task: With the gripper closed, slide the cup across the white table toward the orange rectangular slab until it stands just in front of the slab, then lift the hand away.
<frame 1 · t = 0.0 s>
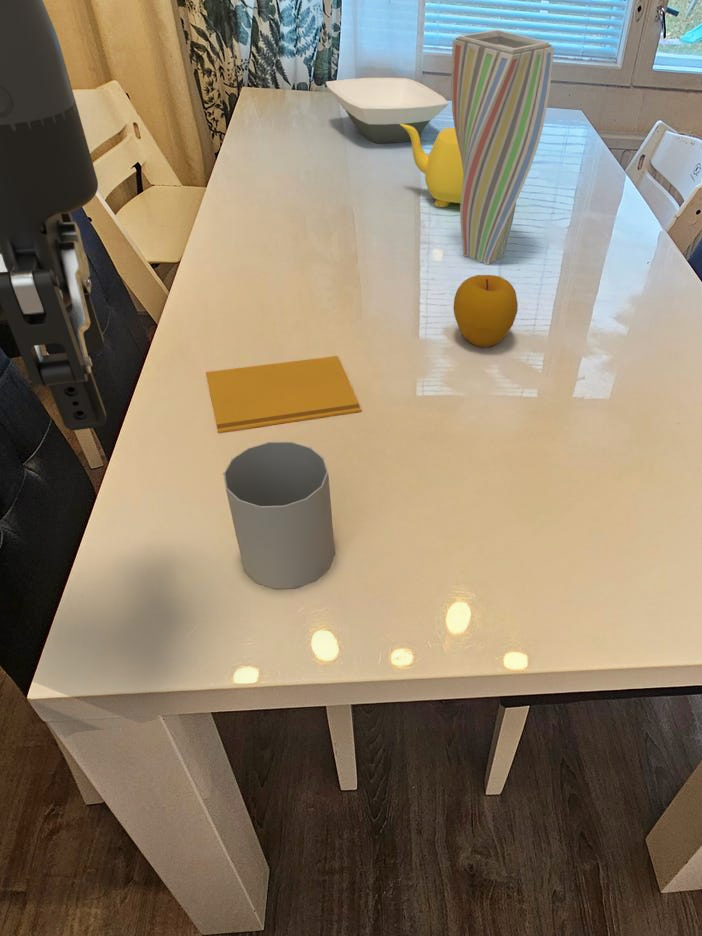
hand: (87, 385, 44), 22 cm above the table, tool pointing down, fingers open, 8 cm apart
cup: (288, 555, 65), on the table
bowl: (386, 135, 156), on the table
teapot: (452, 200, 132), on the table
apple: (482, 341, 96), on the table
vase: (484, 256, 116), on the table
orange rectangular slab: (282, 392, 83), on the table
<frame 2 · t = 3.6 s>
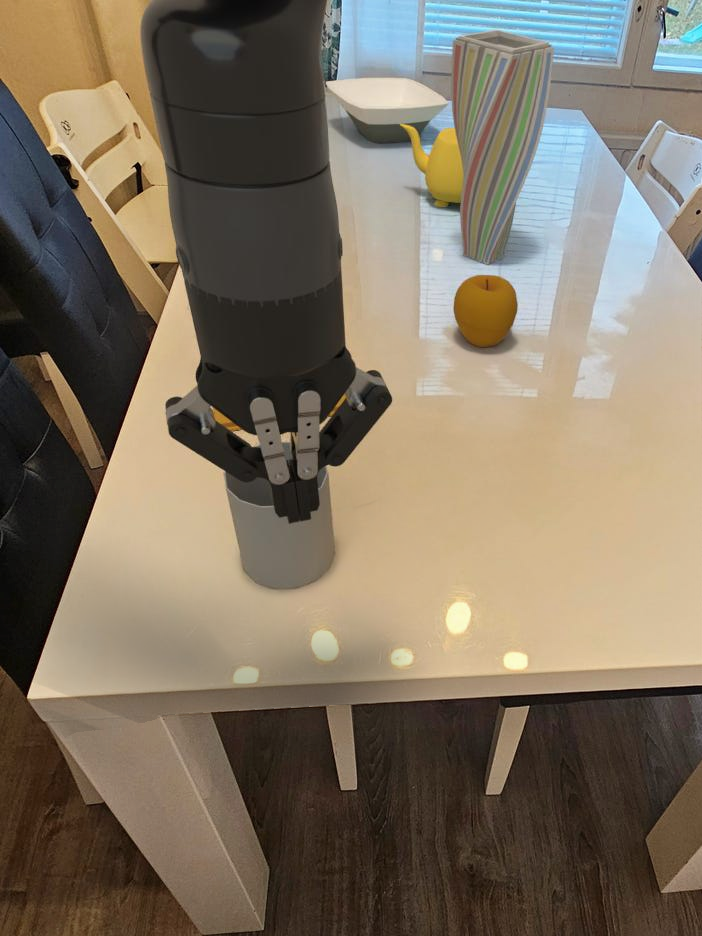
hand: (296, 513, 46), 16 cm above the table, tool pointing down, fingers closed
nothing on the table moved.
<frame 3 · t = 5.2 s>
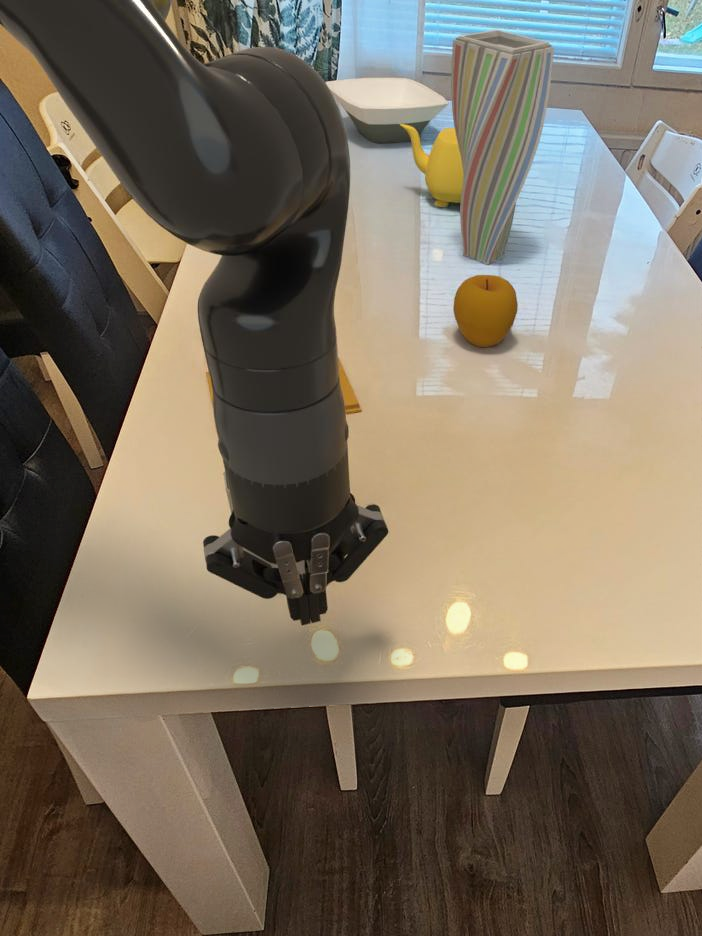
hand: (308, 615, 55), 5 cm above the table, tool pointing down, fingers closed
nothing on the table moved.
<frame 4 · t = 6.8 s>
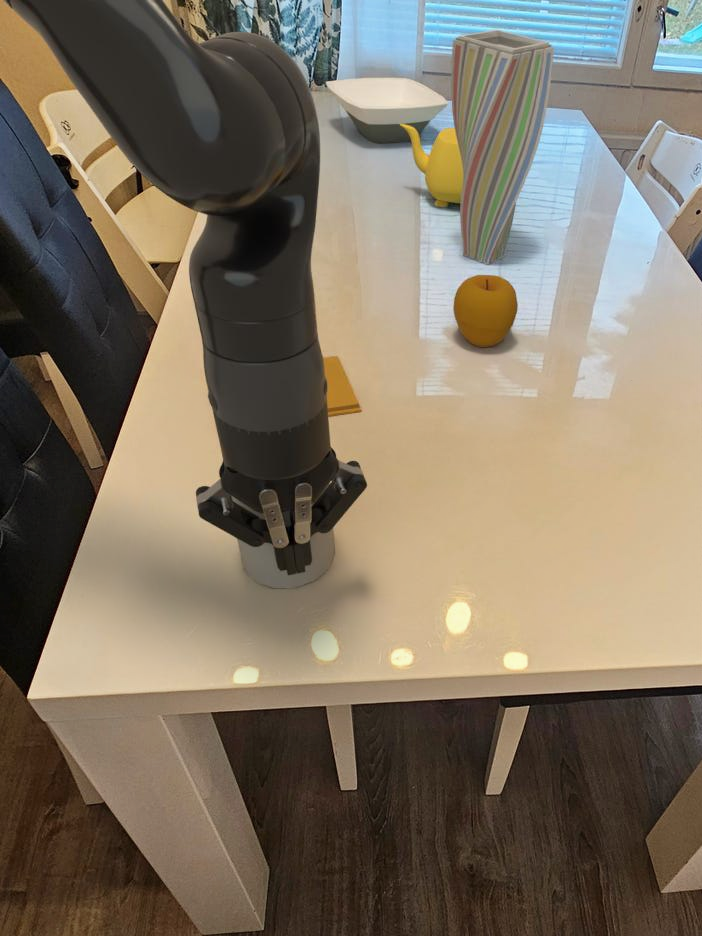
hand: (294, 566, 59), 4 cm above the table, tool pointing down, fingers closed
cup: (289, 555, 65), on the table, touching gripper
everything else where it was.
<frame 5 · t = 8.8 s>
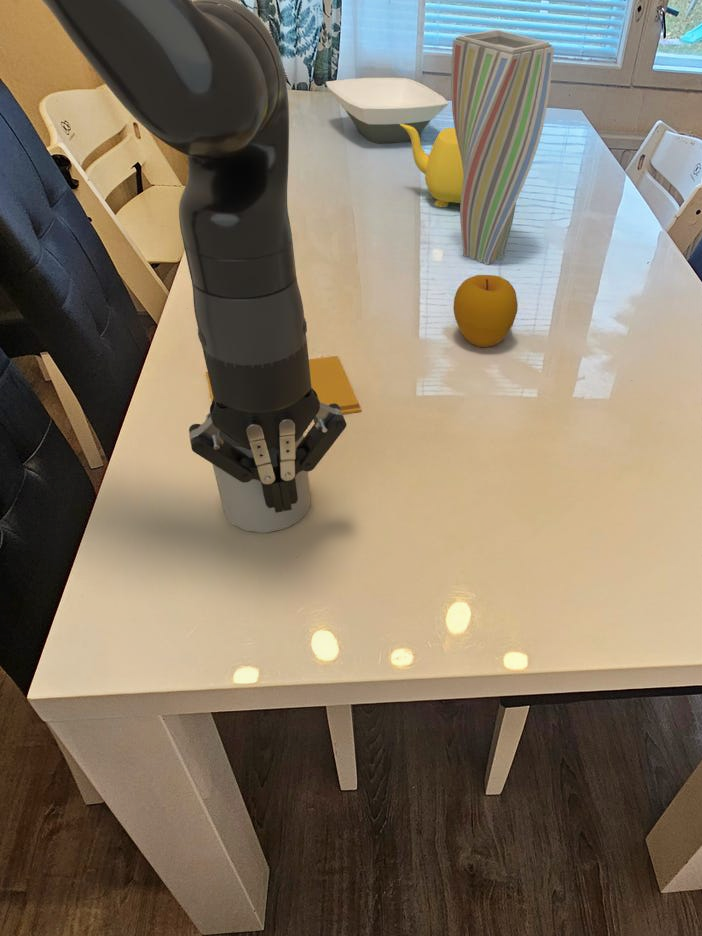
hand: (281, 505, 64), 4 cm above the table, tool pointing down, fingers closed
cup: (268, 504, 70), on the table, touching gripper, hand
everything else where it was.
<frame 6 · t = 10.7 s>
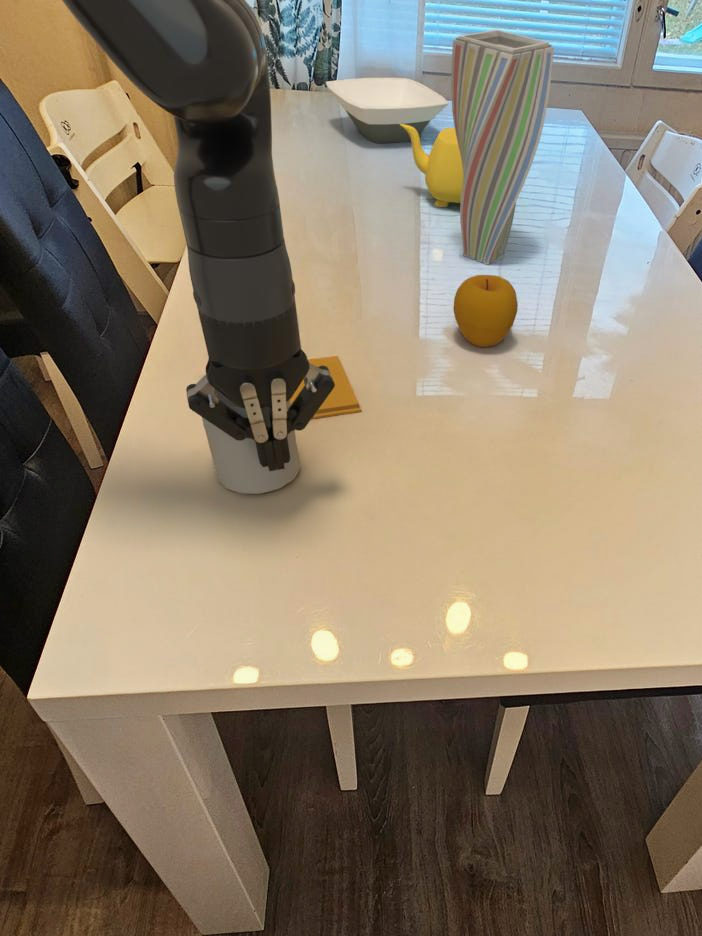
hand: (275, 465, 68), 4 cm above the table, tool pointing down, fingers closed
cup: (259, 470, 73), on the table, touching gripper, hand
everything else where it was.
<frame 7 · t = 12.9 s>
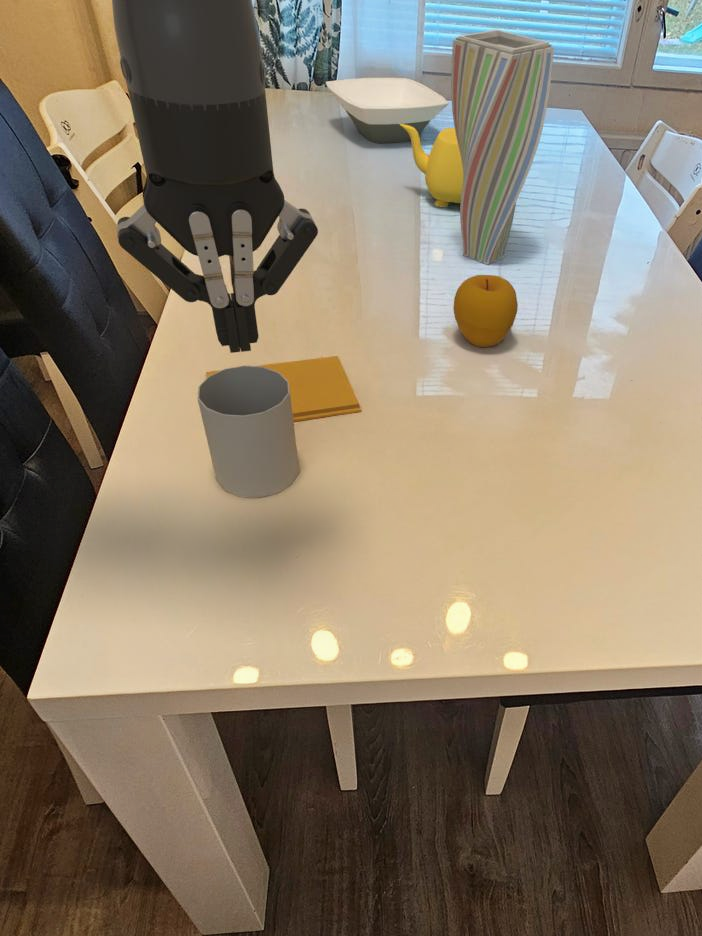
hand: (238, 346, 52), 21 cm above the table, tool pointing down, fingers closed
cup: (258, 471, 73), on the table
everything else where it was.
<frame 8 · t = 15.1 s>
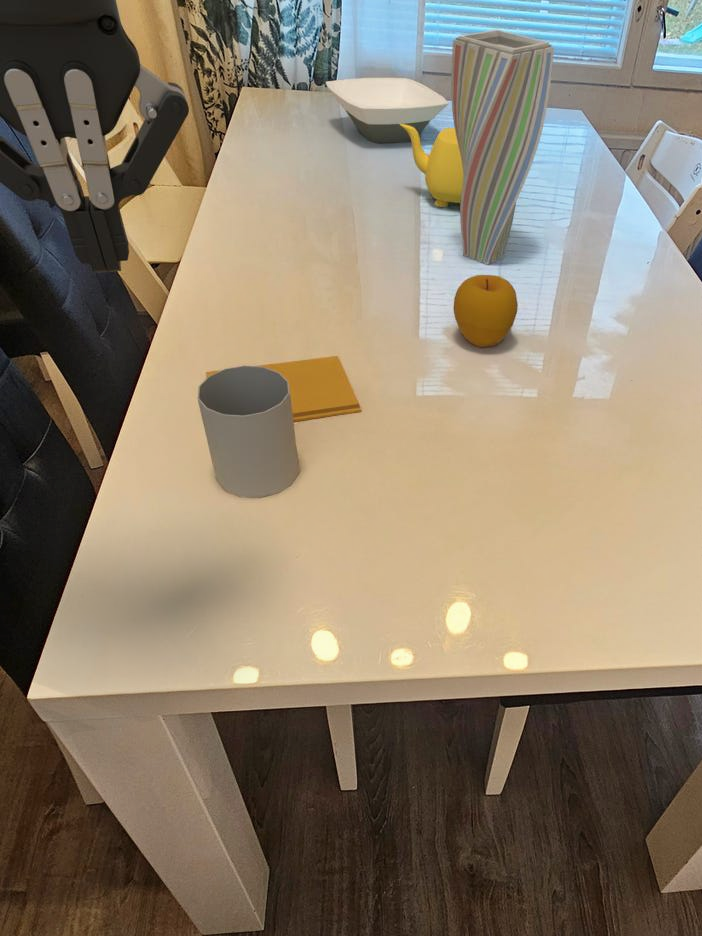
hand: (107, 266, 42), 29 cm above the table, tool pointing down, fingers closed
nothing on the table moved.
at the end: cup 14.2 cm from the orange rectangular slab (horizontally); cup inside the target area (1.9 cm from its centre), on the table; cup tilted 0° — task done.
